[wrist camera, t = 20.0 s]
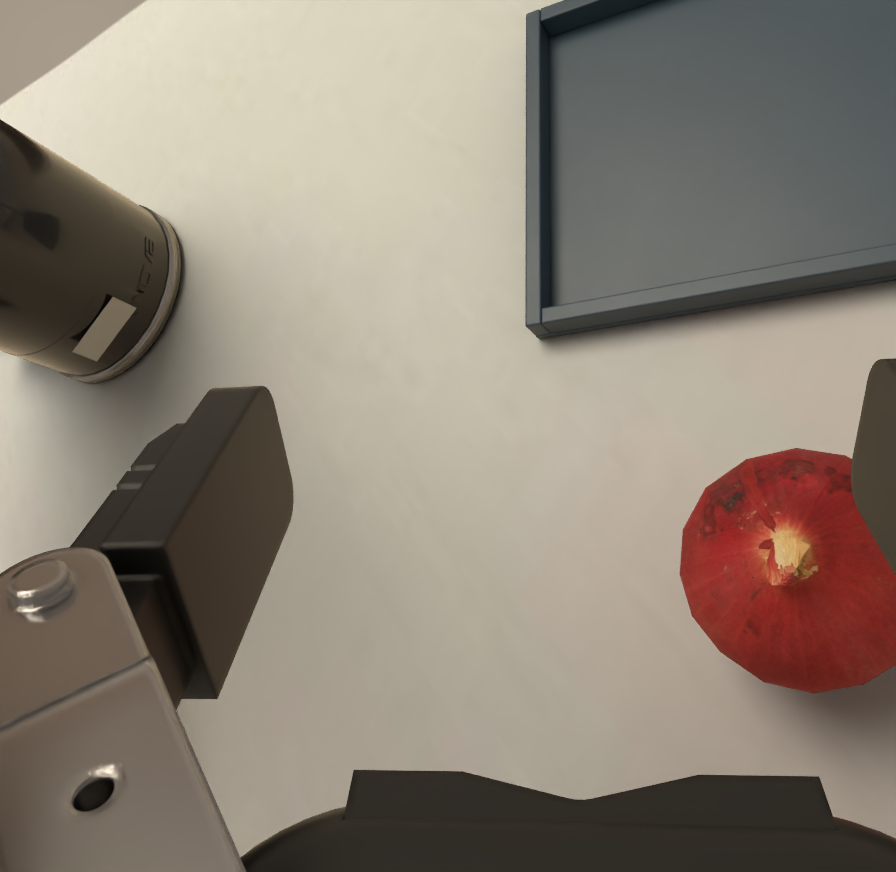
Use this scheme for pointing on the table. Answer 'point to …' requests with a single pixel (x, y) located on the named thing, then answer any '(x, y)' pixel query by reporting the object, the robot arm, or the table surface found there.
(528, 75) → the tray
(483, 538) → the table surface
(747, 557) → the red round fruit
